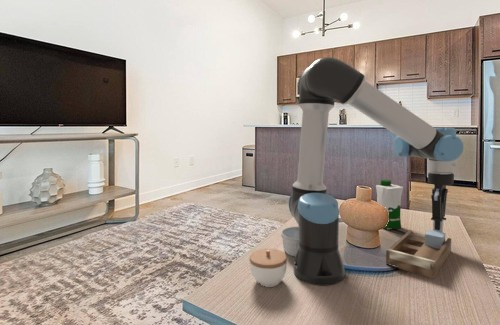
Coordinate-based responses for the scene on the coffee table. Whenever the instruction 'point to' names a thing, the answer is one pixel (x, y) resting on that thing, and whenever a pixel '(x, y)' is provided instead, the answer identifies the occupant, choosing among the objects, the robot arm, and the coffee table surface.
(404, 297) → the coffee table surface
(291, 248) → the ramekin
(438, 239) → the blue block
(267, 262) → the lidded jar
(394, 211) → the milk carton
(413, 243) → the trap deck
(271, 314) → the coffee table surface
